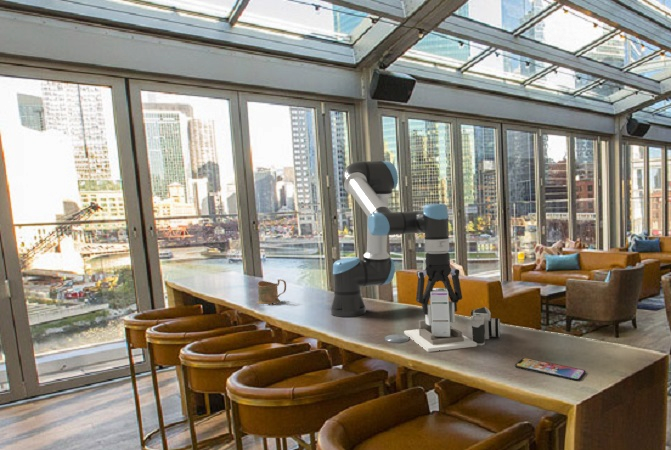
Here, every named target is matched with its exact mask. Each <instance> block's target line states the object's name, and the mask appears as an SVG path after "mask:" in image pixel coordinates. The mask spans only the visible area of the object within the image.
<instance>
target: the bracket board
mask: <svg viewBox="0 0 671 450" xmlns="http://www.w3.org/2000/svg"><path fill="white" fill-rule="evenodd" d="M403 335H406V336H408V337H410V338H409V339H411V340H412V341H413V340H414V341H413V342H414V343H416V344H417V345H418V344H419V347H421V348H422V347H423V349H424V350H425V351H426V352H427V353H430V352H438V351H439V350H440V351H446V350H447V351H448V350H456V349H465V348H473V347H478V345H477V343H476V342H474V341H473V339H471V338H469V337H467V336H465V335H464V334H463V332H462V331H460V330H458V329H457V328H455V327H453V326H452V325H450V337H436V336H434V335H433V334H432V330H431V325H430V326H429V325H427V324H426V322H425V319H420V320H418V329H417V328H416V329H408V330H404V331H403ZM440 351H439V352H440Z"/></svg>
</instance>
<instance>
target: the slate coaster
mask: <svg viewBox="0 0 671 450" xmlns="http://www.w3.org/2000/svg"><path fill="white" fill-rule="evenodd" d="M409 340H410V338H409V337H408V336H407V335H406V334H400V333H399V334H398V333H397V334H396V333H395V334H389V335H386V336H384V341H385V342H388V343H392V344H402V343H406V342H409Z"/></svg>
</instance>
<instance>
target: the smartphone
mask: <svg viewBox="0 0 671 450" xmlns="http://www.w3.org/2000/svg"><path fill="white" fill-rule="evenodd" d="M514 366H515V368H516V369H518V370H519V369H520V370H524V371H528V372H534V373H538V374H540V375H541V374H542V375H547V376H550V377H551V376H552V377H555V378H560V379H564V380H565V379H566V380H568V381H569V380H570V381H574V382H580V381H581V380H582V379H583V377H585V375H586V370H585V369H582V368H576V367H571V366H567V365H562V364H559V363H551V362H548V361H544V360H538V359H533V358H529V357H523V358H521V359H520V360H519V361H517V362H516V363H515V365H514Z"/></svg>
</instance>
